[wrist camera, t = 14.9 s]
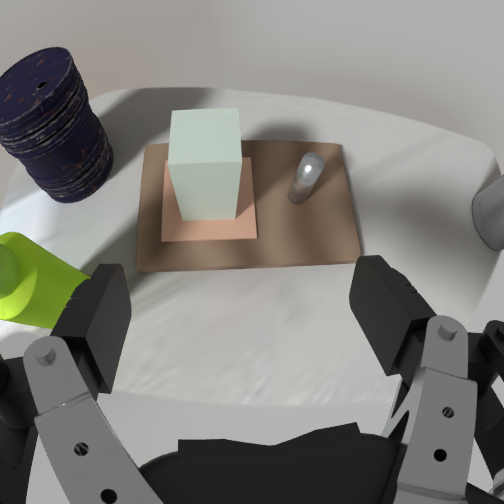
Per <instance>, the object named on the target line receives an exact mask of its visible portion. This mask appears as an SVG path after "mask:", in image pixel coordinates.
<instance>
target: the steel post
mask: <svg viewBox="0 0 504 504" xmlns="http://www.w3.org/2000/svg"><path fill="white" fill-rule="evenodd" d="M324 166H325V162H324V159H323V158H322V157H321V156H320V155H319V154H317V153H314V152H309V153H306V154H305V155H304V156H303V158H302V160H301V163H300V165H299V167H298V170H297V172H296V174H295V177H294V179H293V181H292V184H291V186H290V189H289V191H288V194H287V196H288V199H289V200H290V202H292V203H293V204H296V205H300V204H303V203H304V202H305V201H306V199H307V197H308V195H309V194H310V192H311V190H312V188H313V186H314V185H315V183H316V181H317V179H318V177H319V176H320V174H321V172H322V170H323V168H324Z"/></svg>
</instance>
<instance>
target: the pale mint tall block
mask: <svg viewBox="0 0 504 504" xmlns="http://www.w3.org/2000/svg"><path fill="white" fill-rule="evenodd" d="M241 167H242V153H241V139H240V125H239V110H238V108H218V109H192V110H176V111H172V117H171V128H170V140H169V153H168V168H169V172H170V176H171V180H172V183H173V187H174V191H175V194H176V198H177V202H178V205H179V209H180V213H181V216H182V220H183V221H199V220H223V219H235V216H236V208H237V199H238V191H239V183H240V175H241Z"/></svg>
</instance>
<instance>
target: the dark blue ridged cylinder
mask: <svg viewBox="0 0 504 504" xmlns="http://www.w3.org/2000/svg"><path fill="white" fill-rule="evenodd" d="M0 144H1V145H2V146H3V147H5V149H6V151H7V152H8V153H9V154H11V155H12V156H14V157H15V158H18V159H19V160H20V162H21V163H22V164H23V165H24V166H25V167H26V170H27V172H28V174H29V175H30V176H31V177H32V178H33V180H34V181H35V183H36V184H37V185H38V186H39V187H40V188H41V189H42V190H44V191H45V192H46V193H47V194H48V195H49V196H50V197H51V198H52V199H54V200H55V201H57V202H60V203H75V202H78V201H81V200H83V199H85V198H87V197H89V196H90V195H92V194H93V193H94V192H96V191H97V190H98V189H99V188H100V187H101V186H102V185H103V183H104V182H105V181H106V179H107V177H108V176H109V174H110V171H111V169H112V165H113V151H112V148H111V146H110V144H109V142H108V138H107V135H106V133H105V131H104V128H103V127H102V125H101V123H100V121H99V119H98V118H97V116H96V115H95V114H94V113H93V112H92V109H91V107H90V105H89V100H88V93H87V89H86V87H85V86H84V84H83V80H82V78H81V75H80V73H79V72H78V70H77V68H76V66H75V64H74V61H73V58H72V55H71V53H70V52H69V51H68V50H67V49H65V48H62V47H50V48H46V49H42V50H39V51H37V52H34V53H32V54H30V55H28V56H26V57H25V58H23V59H21V60H20V61H19V62H17V63H15V64H14V65H13V66H12V67H10V68H9V69H8V70H7V71H6V72H5V73H4V74H3V75H2V76H1V77H0Z"/></svg>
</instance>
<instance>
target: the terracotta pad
mask: <svg viewBox="0 0 504 504" xmlns="http://www.w3.org/2000/svg"><path fill="white" fill-rule="evenodd" d="M233 239H257V232H256V220H255V207H254V194H253V181H252V169H251V157H243V158H242V167H241V175H240V183H239V191H238V199H237V208H236V216H235V219H223V220H199V221H183V220H182V216H181V213H180V209H179V205H178V202H177V198H176V194H175V191H174V187H173V183H172V180H171V176H170V172H169V168H168V160H165V173H164V188H163V208H162V235H161V242H180V241H205V240H233Z"/></svg>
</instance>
